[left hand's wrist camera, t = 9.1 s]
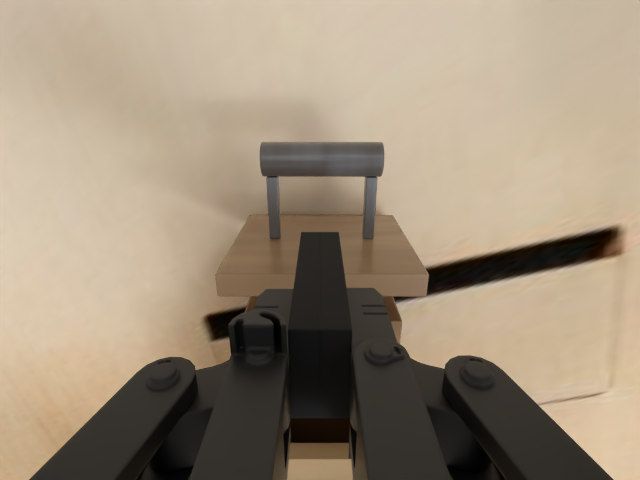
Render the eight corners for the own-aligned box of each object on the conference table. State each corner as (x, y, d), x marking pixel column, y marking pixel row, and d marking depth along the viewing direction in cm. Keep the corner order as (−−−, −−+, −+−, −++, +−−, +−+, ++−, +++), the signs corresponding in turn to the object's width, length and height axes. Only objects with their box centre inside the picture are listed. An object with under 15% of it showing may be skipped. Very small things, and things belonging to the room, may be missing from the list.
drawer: (243, 134, 23) (201, 155, 15) (399, 134, 23) (444, 156, 15) (265, 436, 32) (246, 553, 24) (375, 436, 32) (394, 553, 24)
